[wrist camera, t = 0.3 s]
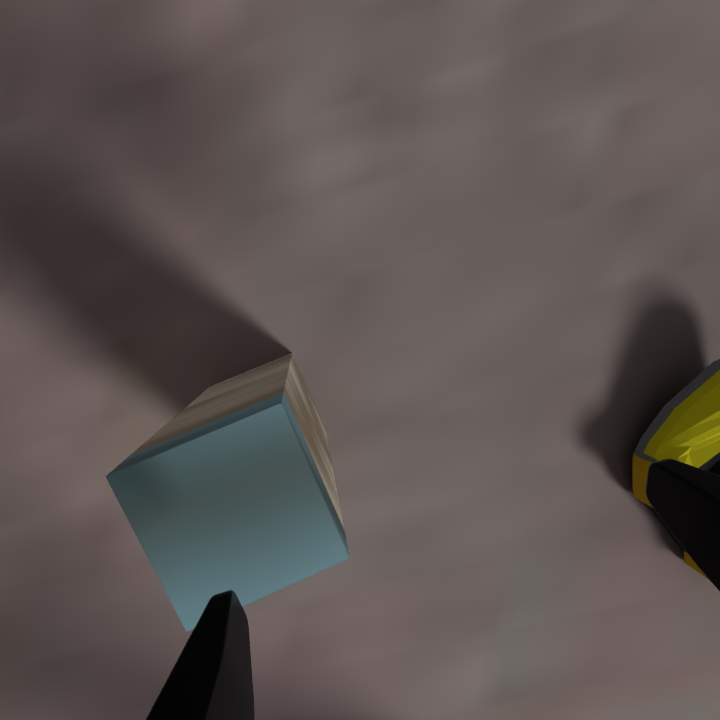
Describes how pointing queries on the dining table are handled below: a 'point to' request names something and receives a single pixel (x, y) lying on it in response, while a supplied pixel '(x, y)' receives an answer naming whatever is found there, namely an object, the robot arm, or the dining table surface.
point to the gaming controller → (683, 436)
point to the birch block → (236, 492)
